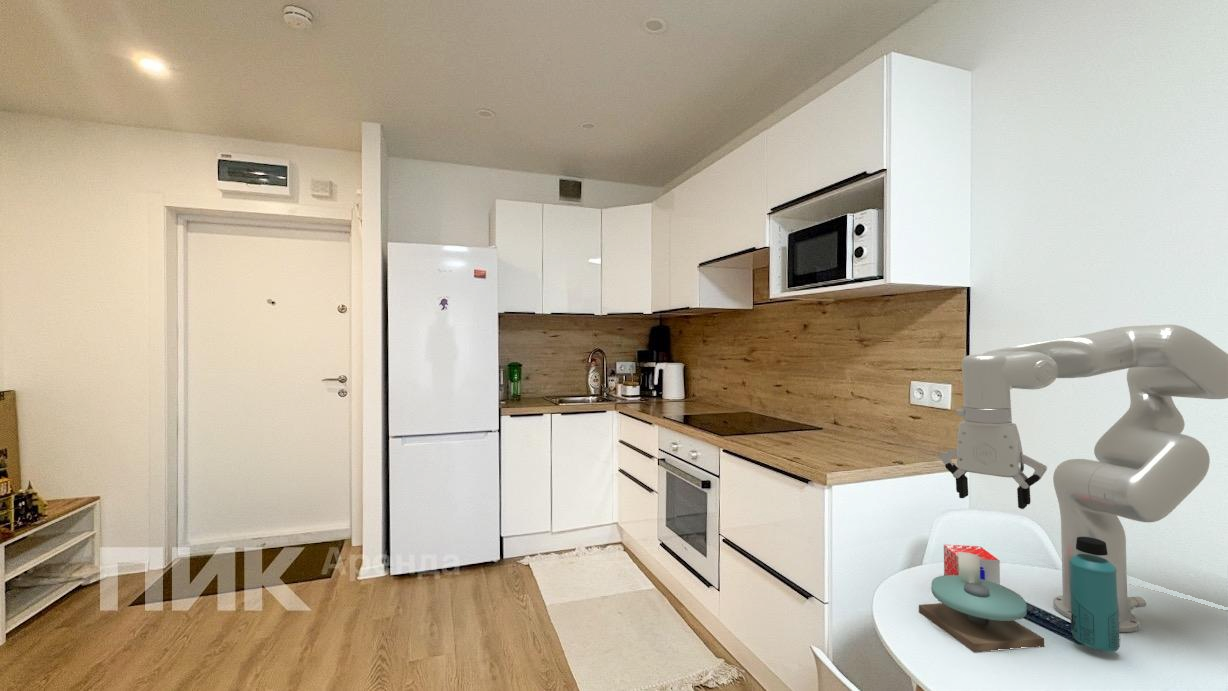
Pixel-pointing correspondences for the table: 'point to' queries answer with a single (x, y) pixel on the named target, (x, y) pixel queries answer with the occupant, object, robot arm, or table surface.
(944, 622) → the stand
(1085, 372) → the robot arm
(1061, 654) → the table surface
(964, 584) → the handwheel
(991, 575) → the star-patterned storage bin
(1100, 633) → the beverage bottle
